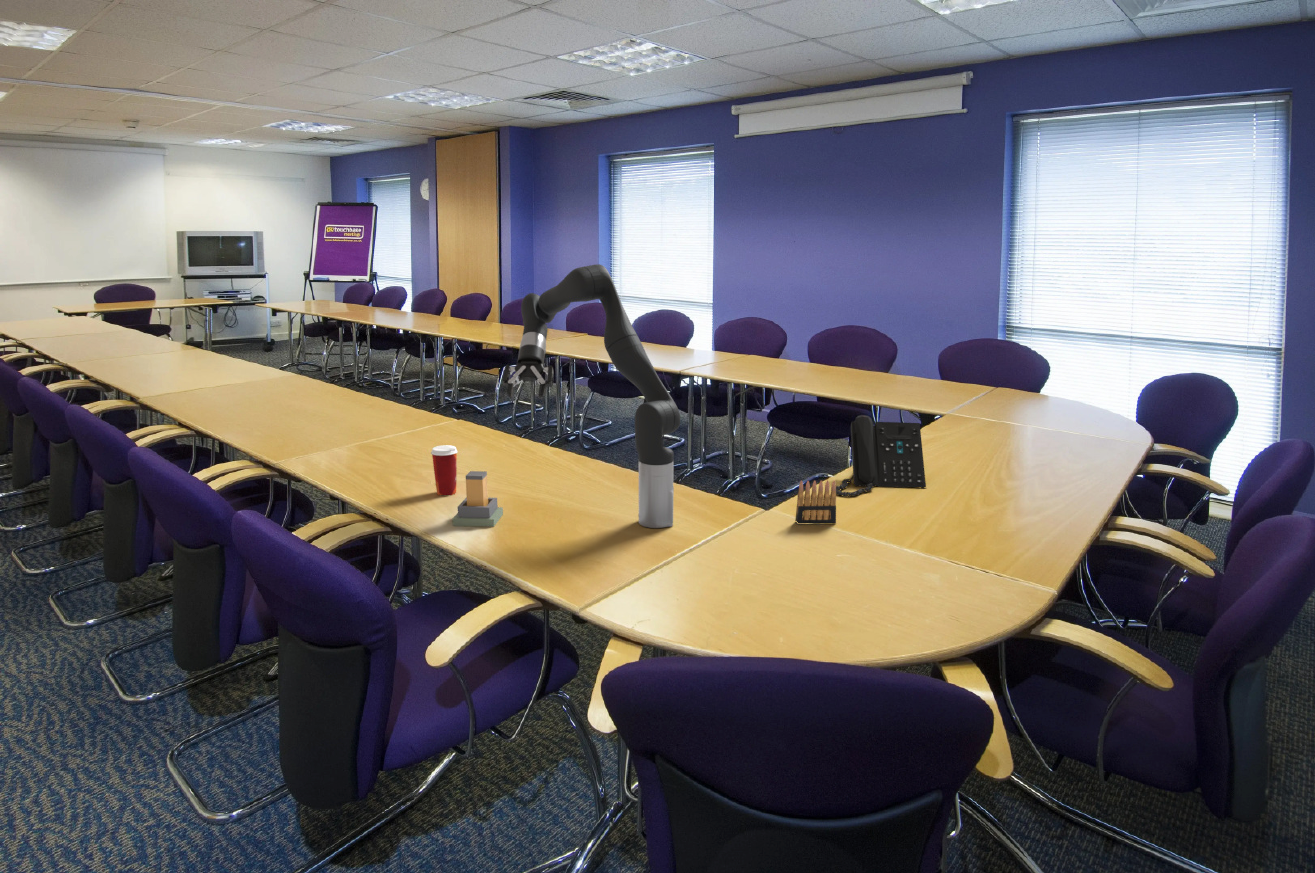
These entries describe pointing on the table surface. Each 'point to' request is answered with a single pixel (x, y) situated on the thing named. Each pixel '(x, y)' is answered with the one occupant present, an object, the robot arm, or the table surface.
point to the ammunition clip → (816, 504)
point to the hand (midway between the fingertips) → (525, 397)
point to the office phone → (885, 455)
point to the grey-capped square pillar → (477, 488)
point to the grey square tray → (478, 514)
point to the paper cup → (445, 469)
